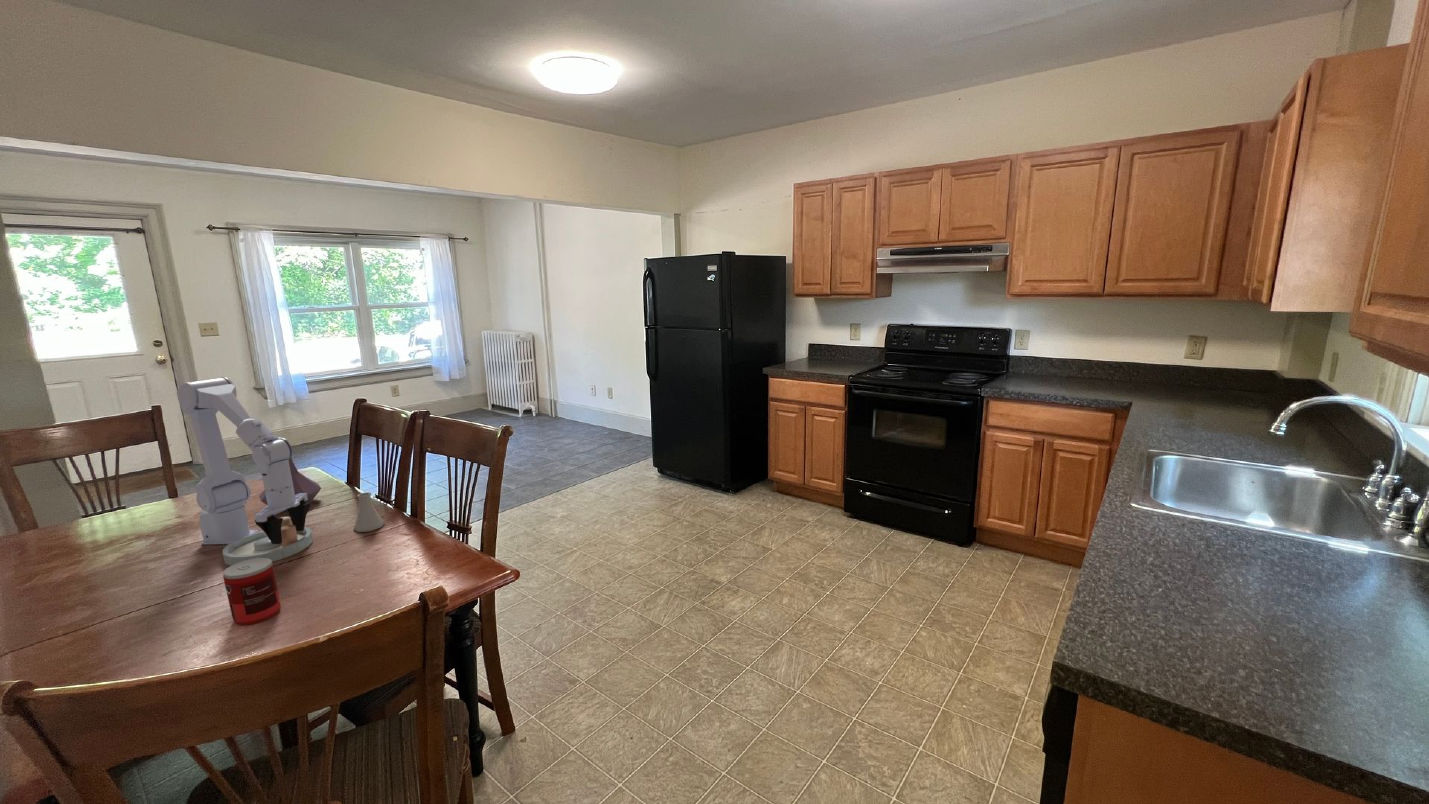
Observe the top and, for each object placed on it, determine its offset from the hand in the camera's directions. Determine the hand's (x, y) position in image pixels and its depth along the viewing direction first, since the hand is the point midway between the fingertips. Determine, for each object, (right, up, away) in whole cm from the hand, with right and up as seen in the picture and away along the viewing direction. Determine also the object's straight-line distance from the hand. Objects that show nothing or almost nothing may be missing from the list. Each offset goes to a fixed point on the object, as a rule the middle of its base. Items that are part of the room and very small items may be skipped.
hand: (288, 536), depth 144 cm
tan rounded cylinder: (-5, -1, +6) cm, 8 cm away
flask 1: (-23, +2, +32) cm, 39 cm away
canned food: (+16, -9, -29) cm, 34 cm away
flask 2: (+13, -1, +13) cm, 18 cm away
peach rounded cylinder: (0, -2, 0) cm, 3 cm away
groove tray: (-5, -4, +1) cm, 7 cm away
